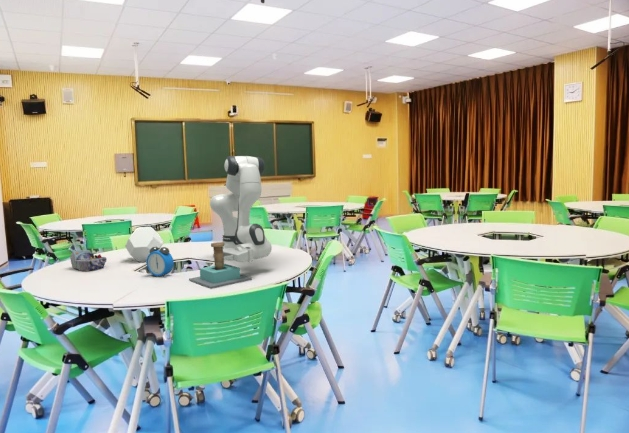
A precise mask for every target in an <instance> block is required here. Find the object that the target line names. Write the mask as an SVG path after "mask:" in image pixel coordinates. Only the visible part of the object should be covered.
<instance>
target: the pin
mask: <svg viewBox="0 0 629 433" xmlns="http://www.w3.org/2000/svg"><path fill="white" fill-rule="evenodd" d="M210 246H211V248H213V254H214V257H213V259H214V260H213V261H214V266H215V270H221V269H224V264H225V260H223V246H225V243H224V242H222V241H219V242H218V241H217V242H212V243H211V244H210Z"/></svg>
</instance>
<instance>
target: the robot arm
mask: <svg viewBox="0 0 629 433" xmlns="http://www.w3.org/2000/svg"><path fill="white" fill-rule="evenodd" d="M223 167H224V171H225V173H226V174H227V176H226V181H225V187H226V189H227V190H228V191H229V192H230V193H221V194H220V193H219V194H217V195H213V196H212V197H211V199H210V202H209V206H210V208H211V210H212V211H213V212H214V213H215V214H217V216H218V217H219V218H220V219H221V222H222V228H223V235H222V241H221V242H224V243H225V246H223V260H224V261H233V262H234V261H235V262H240V263H244V262H249V263H250V262H253V261H254V260H258V259H262V258H266V257H268V256H269V255H270V254H271V252H272V248H273V246H272V243H271V241H269V240H268V238H267V237H266V234H265V231H264V227H263V226H262V225H261V224H258V223H252V224H250V212H251V209H252V207H253V206H254V204H255V203H257V201H258V200H260V198H261V194H262V179H261V176H262V175H263V174H264V173H265V167H266V165H265V161H264V159H263V158H262V157H259V156H249V155H237V156H235V155H229V156H227V157H226V159H225V161H224V165H223ZM233 212H237V217H236V216H234V215H233ZM212 257H213V258H214V253H213V254H212Z"/></svg>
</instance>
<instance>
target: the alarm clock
mask: <svg viewBox="0 0 629 433" xmlns="http://www.w3.org/2000/svg"><path fill="white" fill-rule="evenodd" d="M159 249H160V250H159ZM149 252H150V254H149V255H148V257H147V261H146V267H147V270H148V272H149V273H150V274H151V275H152V277H163V278H164V276H165V275H168V274H170V273H171V272H172V271H173V268H174V263H175V262H174V257H173V255H172V254H171V252H170V249H169V248H168V247H166V246H161V248H158V247H152V248H151V249H150V251H149Z"/></svg>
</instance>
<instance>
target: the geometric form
mask: <svg viewBox="0 0 629 433" xmlns="http://www.w3.org/2000/svg"><path fill="white" fill-rule="evenodd" d="M164 243H165V242H164V239H163V238H162V237H161V235H160V233H158V231H157V230H156V229H154V228H153V227H152V226H139V227H137V228H135V230H134V231H133V232H132V234H131V235H130V236H129V237H128V239H127V241H126V243H125V245H124V247H125V249H126V251H127V252H128V254H129V255H130V256H131V257H133V259H135V260H136V261H137V262H140V263H141V262H147V257H148V255H149V254H150V252H149V251H150V249H151V248H152V247H158V248H160V249H161V248H162V247H163V244H164ZM160 249H159V250H160Z"/></svg>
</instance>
